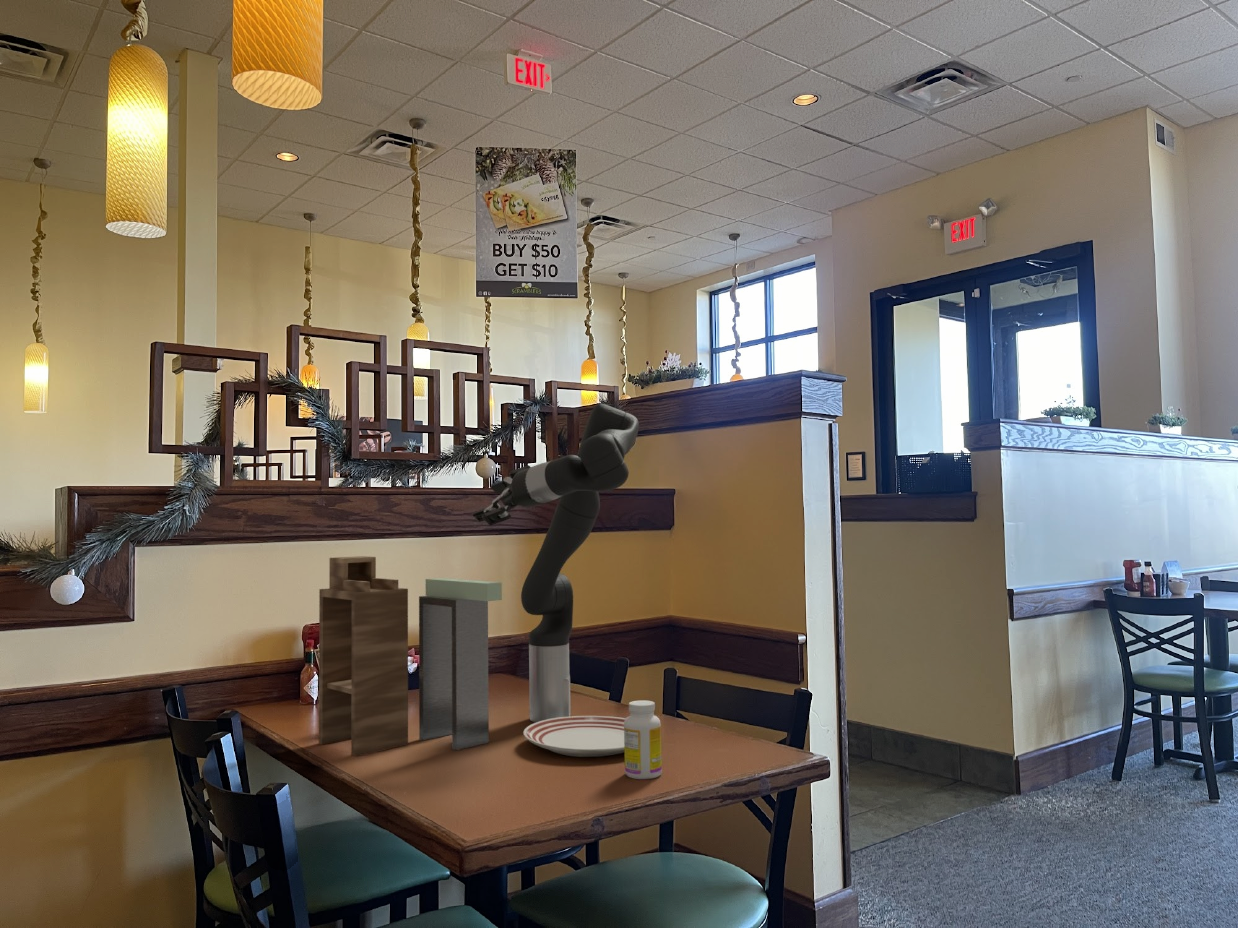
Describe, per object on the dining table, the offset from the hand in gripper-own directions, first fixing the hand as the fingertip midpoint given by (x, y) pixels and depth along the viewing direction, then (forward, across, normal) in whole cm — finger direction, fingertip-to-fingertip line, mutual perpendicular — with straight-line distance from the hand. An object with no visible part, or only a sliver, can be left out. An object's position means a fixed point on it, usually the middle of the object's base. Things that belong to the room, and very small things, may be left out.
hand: (485, 503), depth 186 cm
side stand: (+20, +32, +33) cm, 50 cm away
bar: (+10, +13, +12) cm, 21 cm away
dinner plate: (-5, +26, +48) cm, 54 cm away
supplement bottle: (-26, +37, +43) cm, 62 cm away
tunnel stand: (+33, +40, +22) cm, 56 cm away
